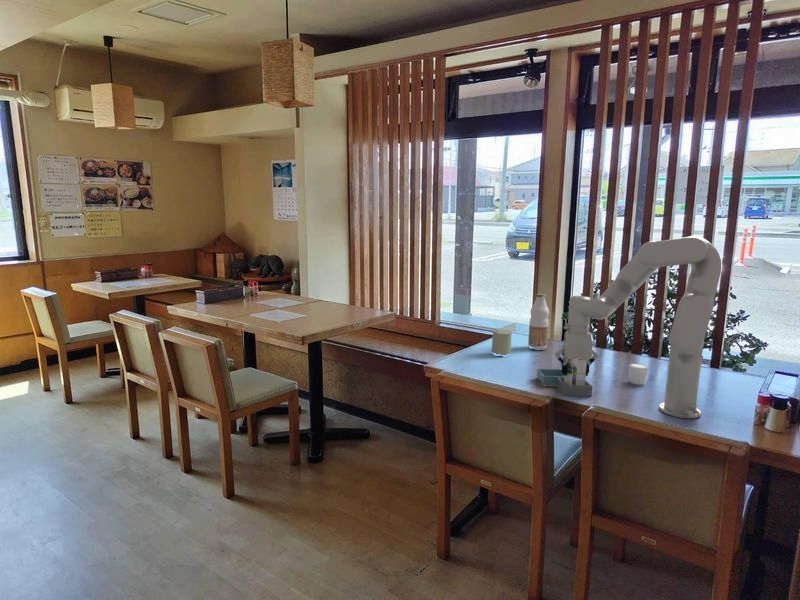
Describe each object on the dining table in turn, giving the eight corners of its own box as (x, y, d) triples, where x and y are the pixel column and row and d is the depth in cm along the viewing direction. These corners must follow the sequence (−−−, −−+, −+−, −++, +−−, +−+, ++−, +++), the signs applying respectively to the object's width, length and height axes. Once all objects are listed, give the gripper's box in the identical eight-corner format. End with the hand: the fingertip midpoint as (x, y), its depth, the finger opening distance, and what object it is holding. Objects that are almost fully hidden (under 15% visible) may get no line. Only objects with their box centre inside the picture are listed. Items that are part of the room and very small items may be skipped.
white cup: (636, 385, 201) (637, 368, 200) (624, 380, 208) (625, 363, 207) (650, 384, 203) (652, 367, 202) (638, 379, 209) (639, 362, 208)
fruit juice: (527, 350, 254) (531, 295, 249) (528, 345, 263) (531, 292, 258) (547, 351, 251) (550, 296, 247) (547, 347, 260) (550, 293, 256)
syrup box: (562, 390, 194) (564, 353, 192) (574, 388, 196) (576, 352, 194) (572, 395, 189) (575, 357, 187) (585, 393, 191) (587, 356, 189)
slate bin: (568, 386, 199) (569, 376, 198) (543, 386, 199) (543, 376, 198) (560, 378, 208) (561, 369, 208) (536, 378, 209) (537, 368, 208)
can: (489, 352, 248) (490, 328, 246) (507, 352, 249) (508, 328, 247) (494, 357, 239) (495, 332, 237) (513, 357, 240) (514, 332, 238)
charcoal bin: (591, 396, 188) (592, 386, 187) (564, 396, 188) (565, 385, 187) (582, 387, 198) (583, 377, 197) (556, 387, 198) (557, 377, 197)
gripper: (557, 330, 185) (554, 377, 188) (605, 331, 185) (601, 378, 188) (552, 326, 193) (549, 371, 195) (597, 327, 192) (594, 372, 195)
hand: (574, 374), depth 192 cm, fingers closed on syrup box, 7 cm apart
